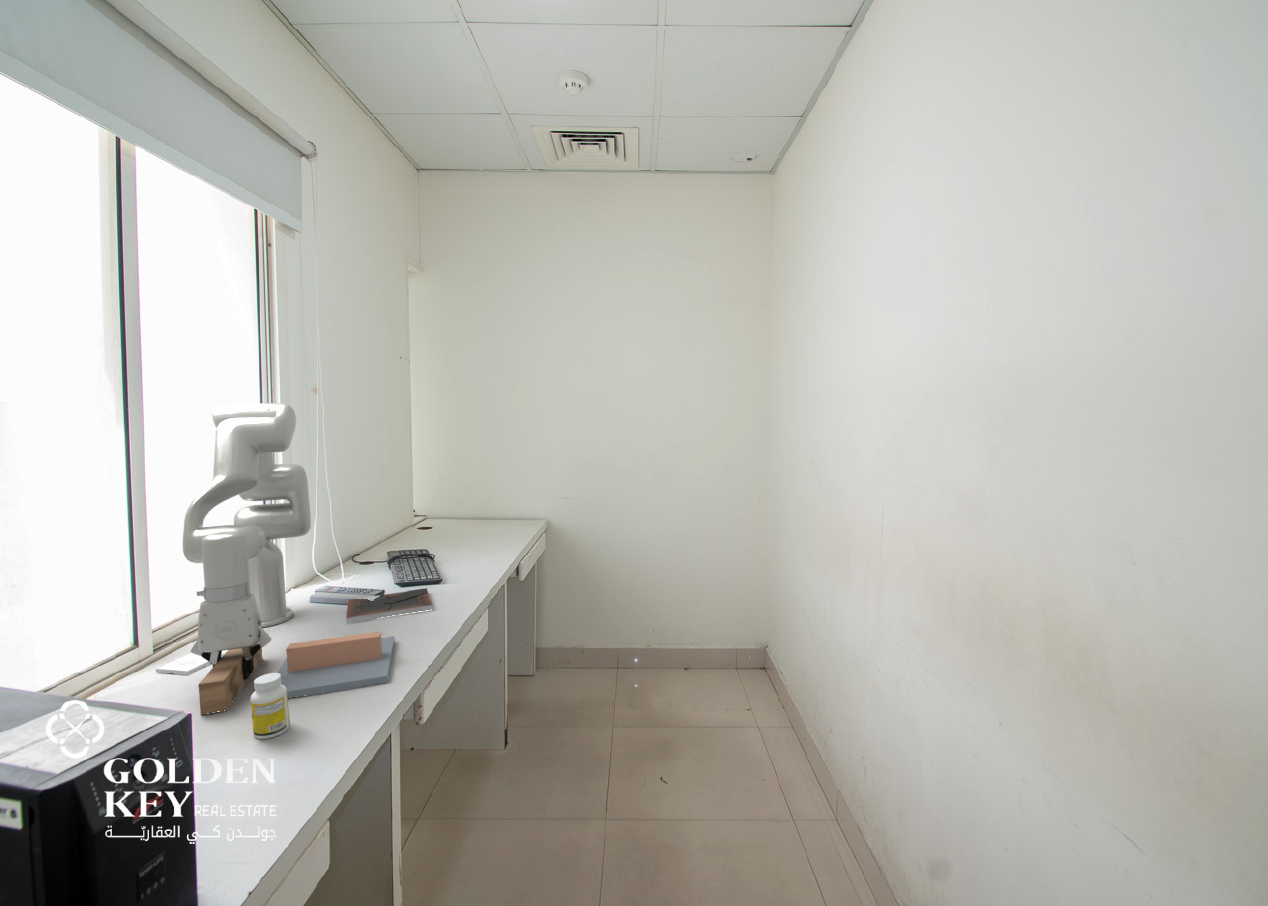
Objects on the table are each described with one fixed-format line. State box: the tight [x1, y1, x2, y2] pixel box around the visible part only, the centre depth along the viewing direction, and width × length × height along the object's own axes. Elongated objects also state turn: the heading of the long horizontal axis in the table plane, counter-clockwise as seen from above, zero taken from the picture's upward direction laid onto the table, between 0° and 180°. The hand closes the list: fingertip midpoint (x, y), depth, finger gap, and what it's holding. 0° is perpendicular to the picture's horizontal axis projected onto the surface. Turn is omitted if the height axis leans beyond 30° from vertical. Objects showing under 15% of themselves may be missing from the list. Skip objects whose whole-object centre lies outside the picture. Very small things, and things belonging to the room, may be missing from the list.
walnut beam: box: [198, 638, 263, 716], centre depth 117 cm, size 24×4×6 cm, turn 19°
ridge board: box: [277, 631, 396, 699], centre depth 123 cm, size 22×22×6 cm
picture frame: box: [345, 587, 433, 625], centre depth 162 cm, size 16×2×22 cm
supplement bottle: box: [250, 672, 290, 740], centre depth 99 cm, size 5×5×10 cm
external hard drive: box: [155, 650, 228, 676], centre depth 129 cm, size 2×8×12 cm
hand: (234, 677), depth 117 cm, fingers closed on walnut beam, 4 cm apart
